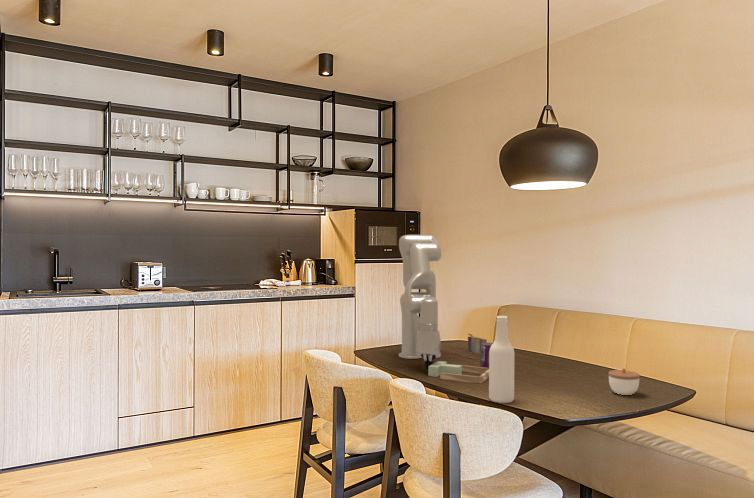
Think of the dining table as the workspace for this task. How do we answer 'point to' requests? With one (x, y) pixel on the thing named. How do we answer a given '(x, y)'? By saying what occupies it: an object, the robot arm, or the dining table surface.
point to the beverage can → (484, 354)
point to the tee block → (443, 369)
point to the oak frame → (468, 378)
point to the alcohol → (501, 365)
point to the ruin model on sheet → (475, 343)
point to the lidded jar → (624, 381)
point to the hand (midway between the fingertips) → (428, 369)
